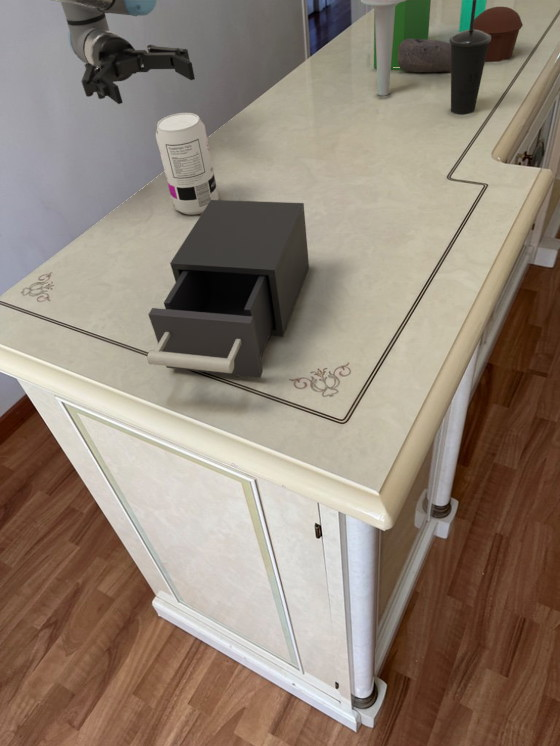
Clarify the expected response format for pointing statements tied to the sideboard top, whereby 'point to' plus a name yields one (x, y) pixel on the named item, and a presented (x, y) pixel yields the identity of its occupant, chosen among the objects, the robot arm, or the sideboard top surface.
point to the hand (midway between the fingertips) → (155, 83)
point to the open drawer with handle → (214, 323)
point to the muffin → (499, 31)
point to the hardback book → (407, 26)
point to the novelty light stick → (383, 40)
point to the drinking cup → (467, 66)
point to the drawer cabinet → (251, 248)
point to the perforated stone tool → (424, 55)
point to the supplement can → (186, 162)
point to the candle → (466, 13)
